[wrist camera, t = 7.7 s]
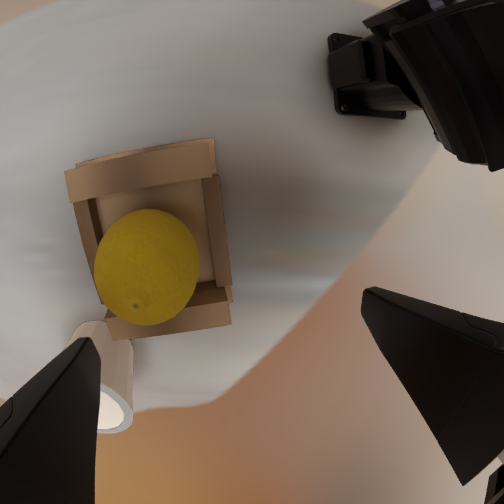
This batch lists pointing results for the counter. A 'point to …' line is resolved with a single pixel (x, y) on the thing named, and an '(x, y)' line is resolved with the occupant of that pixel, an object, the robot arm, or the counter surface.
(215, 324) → the cradle
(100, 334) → the shot glass
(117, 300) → the lemon
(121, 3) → the counter surface
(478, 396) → the robot arm
